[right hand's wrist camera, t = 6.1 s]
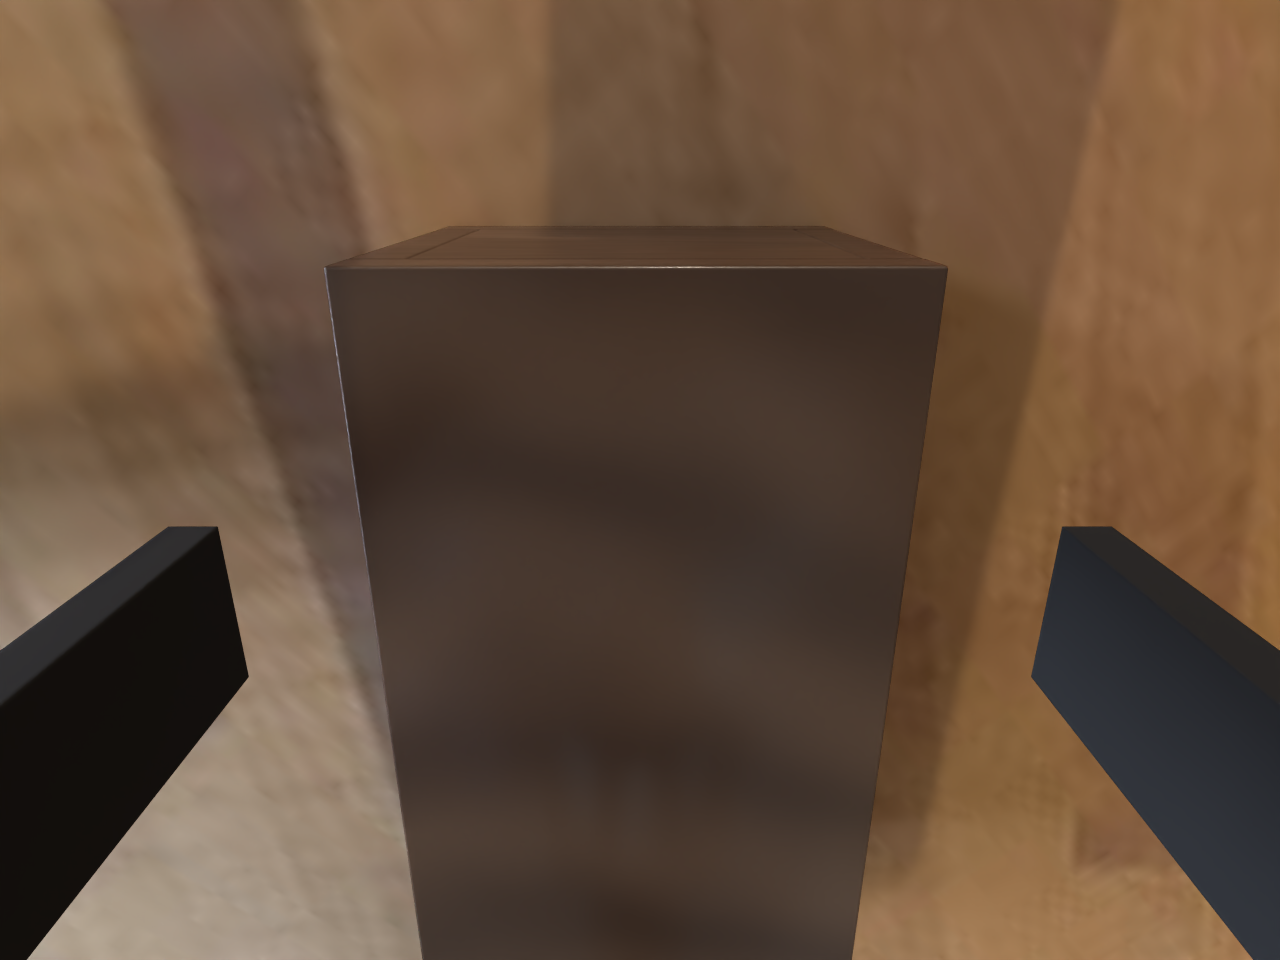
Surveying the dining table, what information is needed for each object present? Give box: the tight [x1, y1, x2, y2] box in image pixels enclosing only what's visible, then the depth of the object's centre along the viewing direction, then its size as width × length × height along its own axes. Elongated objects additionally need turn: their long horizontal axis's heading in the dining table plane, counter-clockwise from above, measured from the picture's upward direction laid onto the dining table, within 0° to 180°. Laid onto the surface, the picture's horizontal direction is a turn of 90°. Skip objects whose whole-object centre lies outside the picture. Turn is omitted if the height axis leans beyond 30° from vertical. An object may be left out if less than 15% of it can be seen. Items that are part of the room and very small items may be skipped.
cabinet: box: [324, 226, 948, 960], centre depth 21 cm, size 21×10×9 cm, turn 0°
